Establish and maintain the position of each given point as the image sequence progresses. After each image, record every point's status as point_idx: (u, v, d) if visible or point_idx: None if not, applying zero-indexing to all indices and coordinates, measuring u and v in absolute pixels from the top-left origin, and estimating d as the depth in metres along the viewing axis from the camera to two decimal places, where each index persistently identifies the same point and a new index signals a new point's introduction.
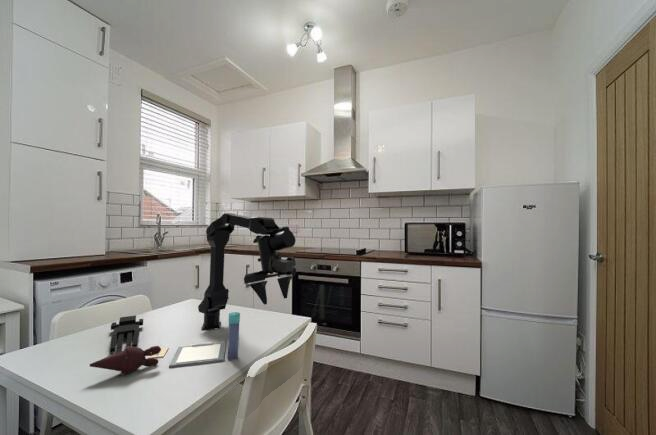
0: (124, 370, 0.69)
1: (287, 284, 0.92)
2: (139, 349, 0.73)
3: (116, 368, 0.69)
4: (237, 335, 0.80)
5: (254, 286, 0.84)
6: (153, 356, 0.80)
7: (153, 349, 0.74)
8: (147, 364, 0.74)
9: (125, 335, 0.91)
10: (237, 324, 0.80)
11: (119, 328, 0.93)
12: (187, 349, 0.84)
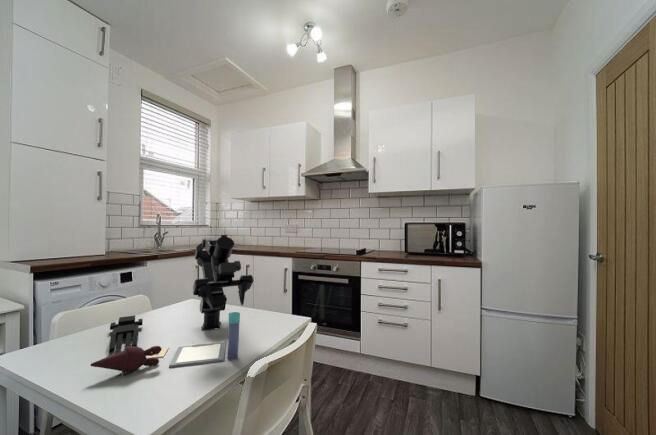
0: (125, 370, 0.69)
1: (242, 291, 0.92)
2: (140, 349, 0.73)
3: (116, 368, 0.69)
4: (237, 335, 0.80)
5: (203, 295, 0.88)
6: (153, 356, 0.80)
7: (154, 349, 0.74)
8: (147, 364, 0.74)
9: (124, 335, 0.91)
10: (237, 324, 0.80)
11: (118, 328, 0.92)
12: (187, 349, 0.84)
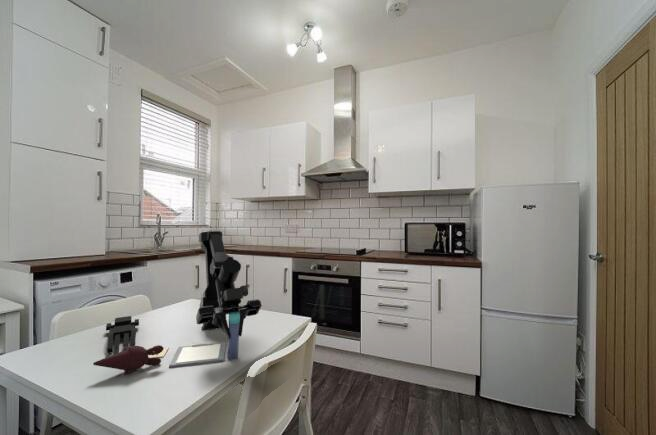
0: (127, 369, 0.69)
1: (240, 320, 0.83)
2: (142, 348, 0.73)
3: (119, 367, 0.69)
4: (237, 335, 0.80)
5: (218, 323, 0.82)
6: (153, 356, 0.80)
7: (156, 348, 0.74)
8: (149, 363, 0.74)
9: (121, 335, 0.90)
10: (237, 324, 0.80)
11: (115, 329, 0.92)
12: (187, 349, 0.84)
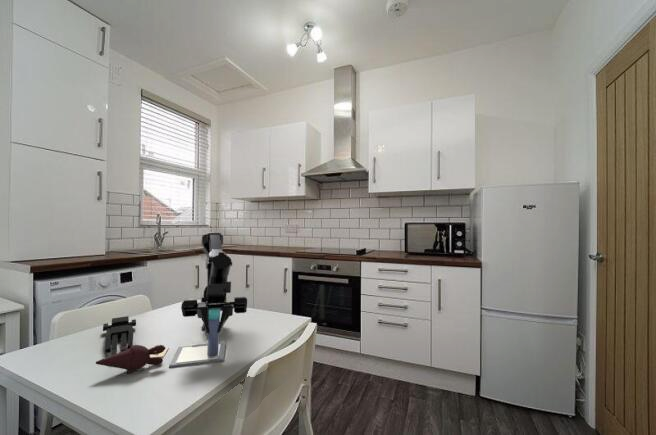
0: (129, 368, 0.69)
1: (222, 316, 0.82)
2: (144, 348, 0.73)
3: (121, 366, 0.70)
4: (216, 331, 0.79)
5: (202, 317, 0.83)
6: (153, 356, 0.80)
7: (157, 348, 0.74)
8: (151, 363, 0.75)
9: (119, 336, 0.90)
10: (216, 320, 0.79)
11: (112, 329, 0.92)
12: (187, 349, 0.84)
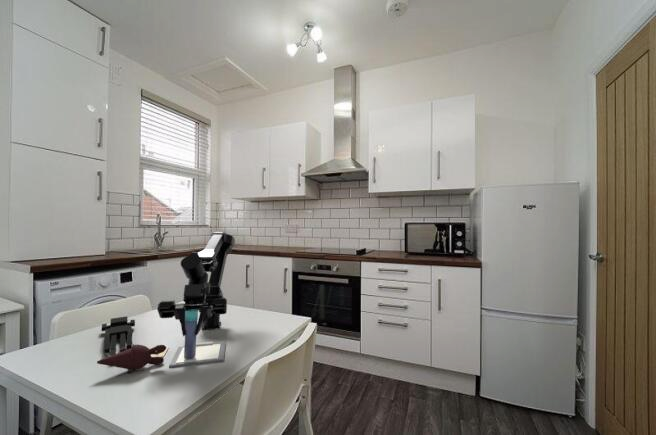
0: (130, 368, 0.70)
1: (200, 318, 0.80)
2: (145, 347, 0.74)
3: (122, 366, 0.70)
4: (193, 333, 0.77)
5: None
6: (153, 356, 0.80)
7: (158, 348, 0.75)
8: (152, 362, 0.75)
9: (118, 336, 0.90)
10: (193, 322, 0.77)
11: (111, 329, 0.91)
12: None
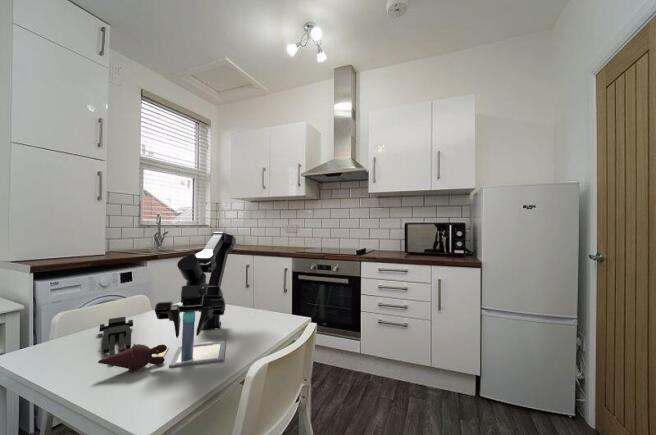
0: (131, 367, 0.70)
1: (200, 318, 0.80)
2: (146, 347, 0.74)
3: (123, 366, 0.70)
4: (190, 335, 0.77)
5: None
6: (153, 356, 0.80)
7: (159, 347, 0.75)
8: (153, 362, 0.75)
9: (116, 336, 0.90)
10: (190, 324, 0.77)
11: (109, 329, 0.91)
12: None
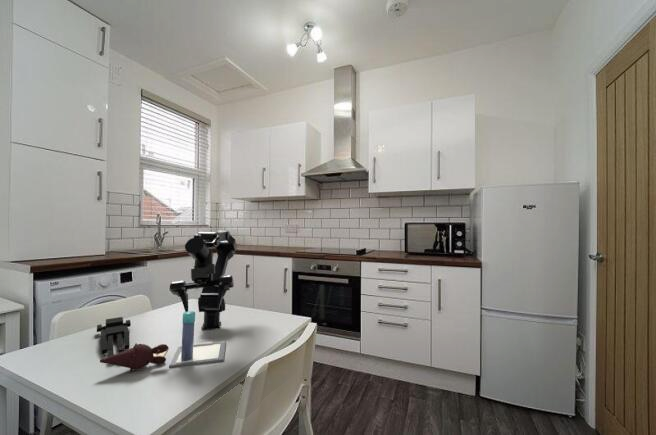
0: (132, 367, 0.70)
1: (219, 294, 0.88)
2: (147, 347, 0.74)
3: (124, 365, 0.70)
4: (190, 335, 0.77)
5: None
6: None
7: (160, 347, 0.75)
8: (154, 362, 0.75)
9: (114, 337, 0.89)
10: (190, 324, 0.77)
11: (107, 330, 0.91)
12: None
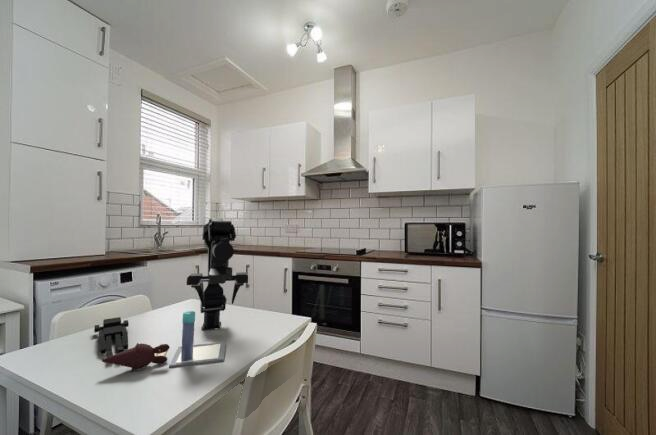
0: (133, 366, 0.70)
1: (234, 291, 0.91)
2: (148, 346, 0.74)
3: (126, 364, 0.71)
4: (190, 335, 0.77)
5: None
6: None
7: (162, 347, 0.75)
8: (156, 361, 0.75)
9: (112, 337, 0.89)
10: (190, 324, 0.77)
11: (105, 330, 0.90)
12: None
